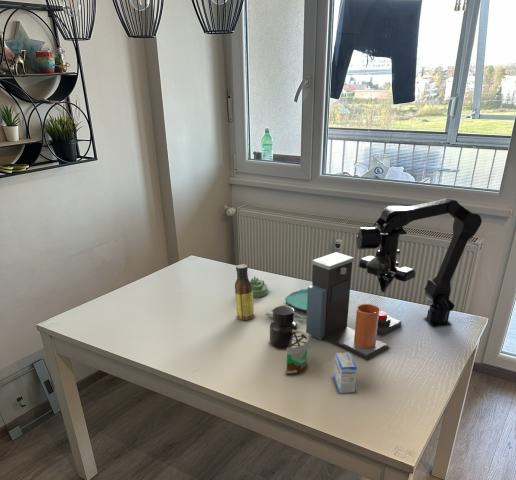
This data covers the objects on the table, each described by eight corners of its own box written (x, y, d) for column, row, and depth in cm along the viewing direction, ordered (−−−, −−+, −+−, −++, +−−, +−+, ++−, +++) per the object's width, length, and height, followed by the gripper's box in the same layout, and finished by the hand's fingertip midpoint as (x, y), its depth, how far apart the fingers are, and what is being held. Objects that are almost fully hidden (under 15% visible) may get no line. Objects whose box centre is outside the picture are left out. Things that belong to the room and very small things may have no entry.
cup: (370, 337, 161) (373, 303, 155) (378, 347, 155) (383, 312, 149) (350, 339, 160) (353, 305, 154) (358, 350, 154) (362, 314, 148)
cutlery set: (348, 303, 188) (348, 297, 187) (298, 330, 170) (298, 324, 168) (307, 289, 200) (308, 284, 199) (257, 313, 182) (257, 308, 180)
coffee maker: (331, 322, 175) (336, 251, 162) (388, 347, 158) (399, 271, 145) (304, 334, 167) (307, 261, 154) (361, 362, 150) (369, 284, 137)
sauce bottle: (256, 314, 181) (254, 263, 171) (250, 322, 176) (248, 270, 166) (239, 312, 183) (237, 262, 173) (233, 319, 178) (231, 268, 168)
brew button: (379, 314, 172) (379, 309, 171) (388, 318, 170) (389, 313, 169) (372, 317, 170) (372, 313, 169) (381, 321, 167) (382, 317, 166)
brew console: (377, 316, 178) (378, 307, 176) (400, 325, 171) (402, 316, 169) (358, 326, 172) (359, 317, 170) (381, 336, 165) (382, 326, 163)
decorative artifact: (272, 292, 198) (256, 285, 205) (272, 276, 195) (255, 270, 201) (254, 299, 192) (238, 292, 199) (253, 283, 189) (237, 276, 195)
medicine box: (333, 378, 143) (335, 352, 139) (348, 377, 144) (350, 351, 139) (339, 393, 136) (341, 367, 132) (355, 392, 137) (357, 366, 132)
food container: (306, 379, 143) (307, 350, 138) (286, 377, 144) (286, 348, 139) (311, 358, 153) (312, 330, 148) (292, 356, 154) (292, 328, 149)
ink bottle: (291, 334, 167) (291, 302, 161) (302, 346, 160) (303, 313, 154) (264, 339, 164) (264, 307, 158) (274, 352, 157) (274, 318, 151)
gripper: (350, 246, 159) (346, 290, 167) (398, 260, 146) (392, 307, 154) (371, 239, 165) (367, 281, 173) (419, 252, 153) (412, 297, 160)
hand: (383, 292), depth 165 cm, fingers closed
